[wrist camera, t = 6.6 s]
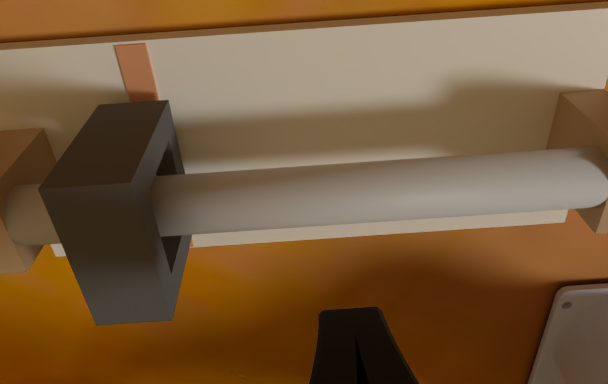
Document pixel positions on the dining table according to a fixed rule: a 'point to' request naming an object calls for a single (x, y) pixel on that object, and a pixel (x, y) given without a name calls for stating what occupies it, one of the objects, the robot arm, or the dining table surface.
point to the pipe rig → (329, 124)
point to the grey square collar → (119, 212)
